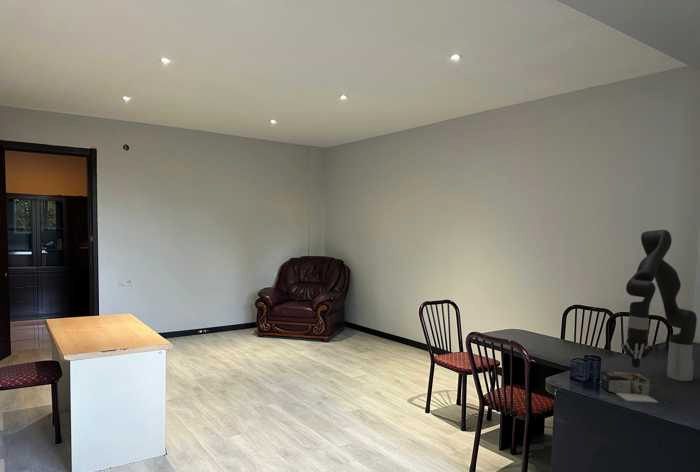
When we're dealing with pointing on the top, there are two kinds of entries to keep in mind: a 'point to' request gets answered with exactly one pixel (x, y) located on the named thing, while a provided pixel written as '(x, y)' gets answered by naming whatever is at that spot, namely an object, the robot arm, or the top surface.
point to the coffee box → (625, 382)
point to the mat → (635, 397)
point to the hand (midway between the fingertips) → (635, 367)
